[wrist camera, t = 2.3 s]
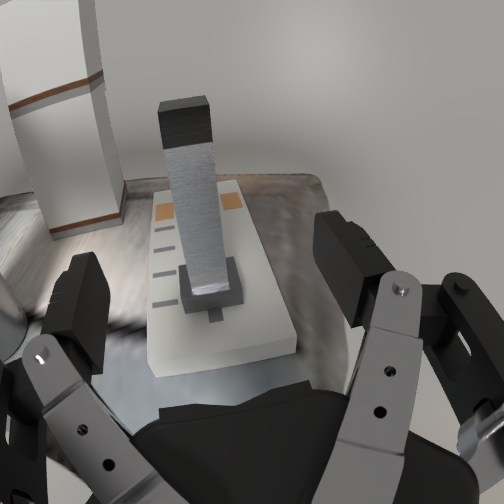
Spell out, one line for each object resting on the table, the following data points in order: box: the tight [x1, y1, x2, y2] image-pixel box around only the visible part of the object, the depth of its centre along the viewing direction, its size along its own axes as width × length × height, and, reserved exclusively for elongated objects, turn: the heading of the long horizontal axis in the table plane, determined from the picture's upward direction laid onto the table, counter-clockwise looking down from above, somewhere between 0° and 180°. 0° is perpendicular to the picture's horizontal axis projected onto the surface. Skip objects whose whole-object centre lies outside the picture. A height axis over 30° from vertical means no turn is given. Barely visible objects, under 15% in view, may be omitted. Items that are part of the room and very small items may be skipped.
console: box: [147, 179, 297, 378], centre depth 36 cm, size 12×28×3 cm, turn 12°
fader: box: [158, 96, 244, 314], centre depth 23 cm, size 5×4×16 cm
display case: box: [0, 0, 127, 240], centre depth 35 cm, size 11×11×35 cm
